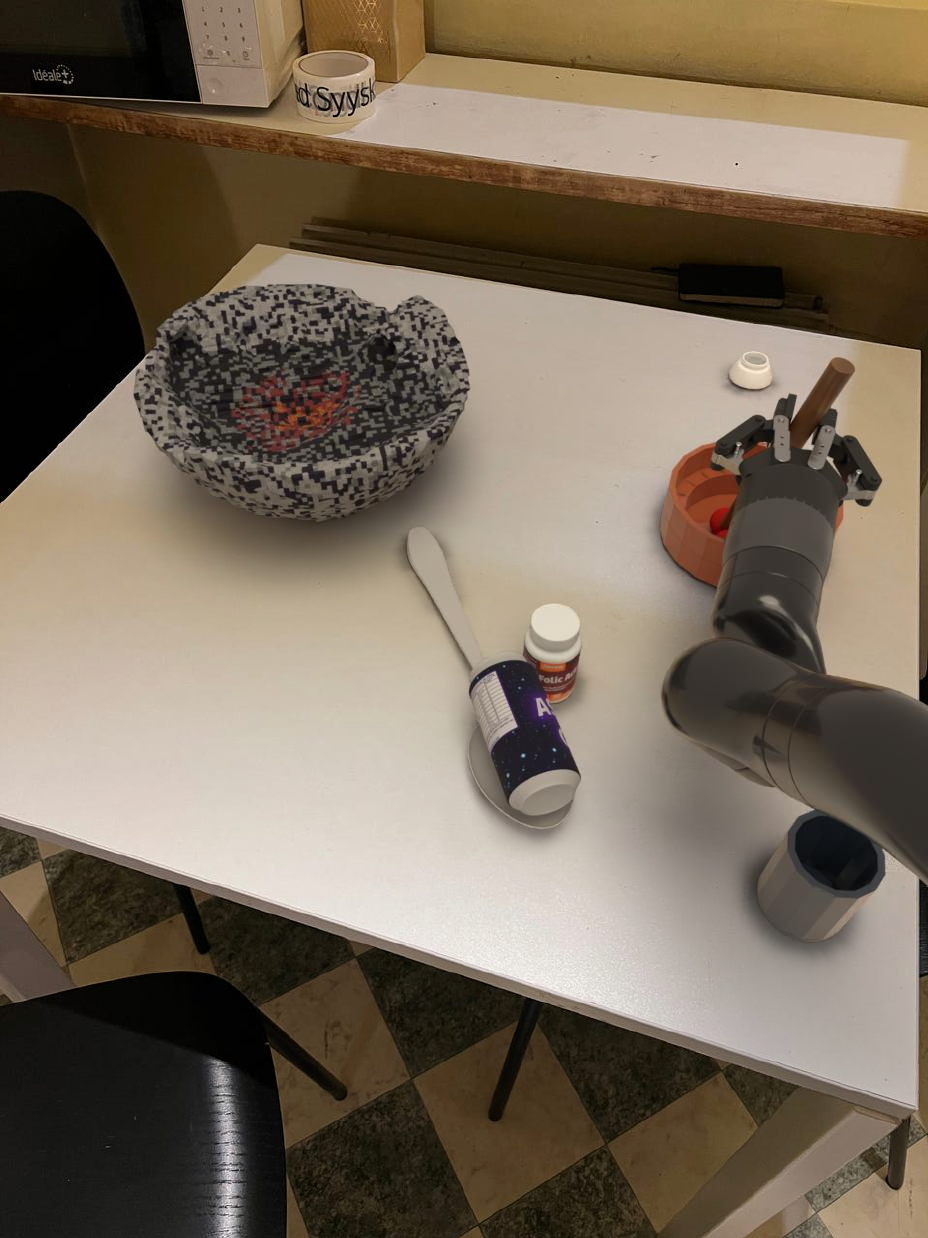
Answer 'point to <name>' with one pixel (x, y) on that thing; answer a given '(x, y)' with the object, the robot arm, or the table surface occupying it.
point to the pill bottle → (554, 648)
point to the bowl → (302, 396)
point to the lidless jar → (751, 371)
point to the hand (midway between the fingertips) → (806, 406)
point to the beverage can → (522, 734)
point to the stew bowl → (700, 512)
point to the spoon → (439, 585)
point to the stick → (813, 409)
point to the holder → (818, 877)
